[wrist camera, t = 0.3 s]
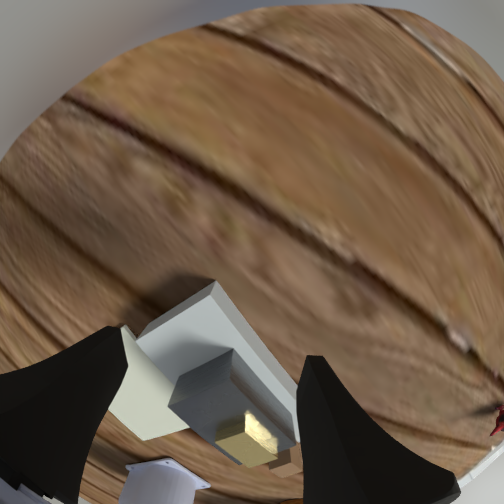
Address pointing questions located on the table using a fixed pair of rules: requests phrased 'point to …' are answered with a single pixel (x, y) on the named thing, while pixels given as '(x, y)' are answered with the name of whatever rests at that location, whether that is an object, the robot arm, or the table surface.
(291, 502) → the disposable coffee cup
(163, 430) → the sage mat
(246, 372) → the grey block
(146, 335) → the white rectangular block
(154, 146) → the table surface
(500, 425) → the decorative bird figurine
